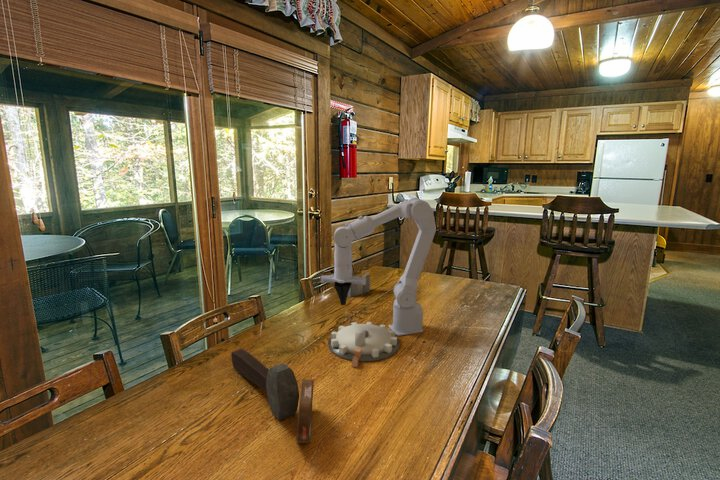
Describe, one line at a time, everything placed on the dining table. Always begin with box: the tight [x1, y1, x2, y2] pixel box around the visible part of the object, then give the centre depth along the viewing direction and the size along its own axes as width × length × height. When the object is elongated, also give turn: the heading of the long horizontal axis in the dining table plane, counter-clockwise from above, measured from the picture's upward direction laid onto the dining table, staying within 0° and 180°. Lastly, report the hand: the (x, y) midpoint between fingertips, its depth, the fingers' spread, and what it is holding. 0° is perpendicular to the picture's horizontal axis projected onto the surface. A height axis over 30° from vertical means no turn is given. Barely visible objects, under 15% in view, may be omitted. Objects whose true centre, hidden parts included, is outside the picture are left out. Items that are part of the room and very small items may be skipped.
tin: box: [296, 378, 315, 444], centre depth 78 cm, size 15×3×8 cm, turn 5°
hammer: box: [230, 348, 300, 421], centre depth 91 cm, size 5×11×30 cm
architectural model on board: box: [347, 269, 371, 298], centre depth 159 cm, size 11×3×10 cm, turn 132°
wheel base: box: [327, 335, 400, 368], centre depth 114 cm, size 22×24×2 cm
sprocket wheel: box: [330, 321, 398, 358], centre depth 114 cm, size 20×20×6 cm
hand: (343, 304), depth 122 cm, fingers closed
